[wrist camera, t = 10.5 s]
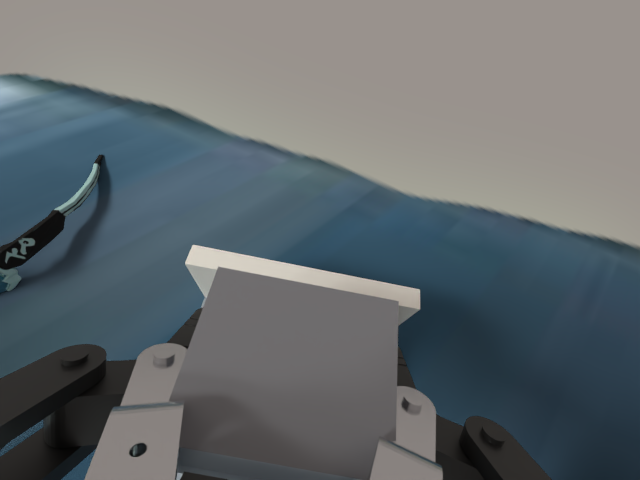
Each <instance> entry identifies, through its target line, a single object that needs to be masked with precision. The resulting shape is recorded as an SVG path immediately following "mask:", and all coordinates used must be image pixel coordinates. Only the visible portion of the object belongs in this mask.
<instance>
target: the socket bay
mask: <svg viewBox="0 0 640 480" xmlns="http://www.w3.org/2000/svg"><path fill="white" fill-rule="evenodd" d="M185 265H186V266H187V268H188V270H189V271H190V273H191V275H192V276H193V278H194V280H195V281H196V283H197V285H198V286H199V288H200V290H201V291H202V293H203V295H204V296H205V298H204V301H203V304H202V306H201V308H203V306H204V304H205V301H206V298H207V296H208V293H209V290H210V288H211V285H212V282H213V279H214V277H215V274H216V271H217V269H218V267H223V268H228V269H233V270H239V271H244V272H249V273H254V274H259V275H265V276H270V277H275V278H280V279H286V280H291V281H296V282H301V283H306V284H312V285H317V286H322V287H327V288H333V289H338V290H343V291H348V292H354V293H359V294H364V295H369V296H374V297H380V298H385V299H390V300H395V301H399V308H398V326H399V325H400V324H401V323H403V322H404V321H405V320H407V319H408V318H409V317H411V316H412V315H413V314H415V313H416V312H418V311H419V310H420V289H415V288H410V287H405V286H400V285H395V284H390V283H385V282H379V281H374V280H369V279H364V278H359V277H354V276H349V275H344V274H339V273H334V272H329V271H324V270H319V269H314V268H308V267H303V266H298V265H293V264H288V263H283V262H278V261H273V260H268V259H263V258H258V257H253V256H248V255H243V254H237V253H232V252H227V251H222V250H217V249H212V248H207V247H202V246H197V245H193V246H192V248H191V250H190V253H189V255H188V257H187V260H186V262H185ZM184 472H190V473H196V474H201V475H207V476H213V477H219V478H224V479H228V480H360V479H355V478H349V477H343V476H338V475H332V474H327V473H321V472H315V471H310V470H304V469H299V468H293V467H287V466H282V465H276V464H270V463H265V462H259V461H254V460H248V459H242V458H237V457H231V456H226V455H220V454H214V453H209V452H203V451H197V450H192V449H186V448H181V447H180V455H179V464H178V472H177V480H180V479H181V477H182V475H183V473H184Z"/></svg>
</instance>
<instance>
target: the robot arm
mask: <svg viewBox="0 0 640 480" xmlns="http://www.w3.org/2000/svg"><path fill="white" fill-rule="evenodd" d="M202 309H203V308H200V309H198V310H196V311H195V313H194V314H193V315H192V316H191V317H190V319H188V320H187V321H186V322H185V324H184V325H183V326H182V327H181V328H180V329H179V330H178V331H177V332H176V333H175V335H174V336H173V337H172V338H171V339H170V340H169V341H168V342H167V343H164V344H158V345H154V346H151V347H149V348H147V349H146V350H144V351H143V352H142V353H141V354H140V355H139V356H138V358H137V359H136V360H125V361H106V351H105V350H104V349H103V348H102V347H100V346H96V345H91V344H81V345H74V346H69V347H66V348H63V349H60V350H58V351H55V352H53V353H51V354H49V355H47V356H45V357H43V358H41V359H39V360H37V361H35V362H33V363H31V364H29V365H27V366H25V367H23V368H21V369H19V370H17V371H15V372H13V373H11V374H9V375H7V376H5V377H3V378H1V379H0V450H1V449H2V448H3V447H4V446H5V445H6V444H7V443H8V442H10V441H11V440H13V439H14V438H16V437H17V436H19V435H20V434H22V433H23V432H25V431H26V430H28V429H29V428H31V427H32V426H34V425H35V424H37V423H38V422H40V421H41V420H43V424H44V427H43V428H42V429H40V430H39V431H37V432H36V433H34V434H33V435H31V436H30V437H29V438H27V439H26V440H24V441H23V442H21V443H20V444H18V445H17V446H15V447H14V448H13V449H11V450H10V451H8V452H7V453H5V454H4V455H2V456H1V457H0V480H61V479H62V478H63V477H64V476H65V475H66V474H68V473H69V472H70V471H71V470H72V469H73V468H74V467H76V466H77V465H78V464H79V463H80V462H81V461H82V460H83V459H85V458H86V457H87V456H88V455H89V454H90V453H91V452H93V451H94V450H95V449H96V448H97V449H96V451H95V454H94V456H93V459H92V461H91V464H90V467H89V469H88V472H87V474H86V477H85V480H177V472H178V464H179V455H180V438H181V428H182V419H183V410H184V401H169V398H170V396H171V393H172V390H173V388H174V385H175V382H176V380H177V377H178V374H179V371H180V369H181V366H182V363H183V361H184V358H185V355H186V352H187V350H188V347H189V344H190V342H191V339H192V336H193V334H194V331H195V328H196V325H197V323H198V320H199V317H200V315H201V312H202ZM406 366H407V365H406V362H405V360H404V357H403V355H402V352H401V350H400V348H399V347H398V363H397V417H396V441H390V440H387V439H385V438H383V437H381V436H379V438H378V442H377V446H376V449H375V453H374V457H373V460H372V464H371V468H370V472H369V475H368V479H367V480H552V479H551V478H550V477H549V476H548V475H547V474H546V473H545V472H544V471H543V470H542V468H541V467H540V466H539V465H538V464H537V463H536V462H535V461H534V460H533V458H532V457H531V456H530V455H529V454H528V453H527V452H526V451H525V450H524V449H523V447H522V446H521V445H520V444H519V443H518V442H517V441H516V440H515V439H514V438H513V436H512V435H511V434H510V433H509V432H508V431H506V430H505V429H504V428H503V427H501V426H500V425H498V424H497V423H495V422H493V421H491V420H489V419H487V418H483V417H479V416H472V417H469V418H468V419H467V420H466V422H465V425H464V427H463V426H461V425H458V424H456V423H454V422H451V421H449V420H447V419H444V418H442V417H440V416H439V415H437V414H436V410H435V407H434V405H433V403H432V402H431V401H430V399H429V398H428V397H426V396H425V395H424V394H423V393H421V392H419V391H418V390H416V388H415V385H414V383H413V380H412V377H411V375H410V372H409V370H408V367H406ZM180 480H228V479H224V478H219V477H213V476H207V475H201V474H196V473H190V472H184V473H183V475H182V477H181V479H180Z"/></svg>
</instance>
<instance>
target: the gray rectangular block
mask: <svg viewBox="0 0 640 480" xmlns="http://www.w3.org/2000/svg"><path fill="white" fill-rule="evenodd" d="M398 308H399V301H395V300H390V299H385V298H380V297H374V296H369V295H364V294H359V293H354V292H348V291H343V290H338V289H333V288H327V287H322V286H317V285H312V284H306V283H301V282H296V281H291V280H286V279H280V278H275V277H270V276H265V275H259V274H254V273H249V272H244V271H239V270H233V269H228V268H223V267H218V269H217V271H216V274H215V277H214V279H213V282H212V285H211V288H210V290H209V293H208V296H207V298H206V301H205V304H204V306H203V309H202V312H201V315H200V317H199V320H198V323H197V325H196V328H195V331H194V334H193V336H192V339H191V342H190V344H189V347H188V350H187V352H186V355H185V358H184V361H183V363H182V366H181V369H180V371H179V374H178V377H177V380H176V382H175V385H174V388H173V390H172V393H171V396H170V398H169V401H184V410H183V419H182V428H181V438H180V447H181V448H186V449H192V450H197V451H203V452H209V453H214V454H220V455H226V456H231V457H237V458H242V459H248V460H254V461H259V462H265V463H270V464H276V465H282V466H287V467H293V468H299V469H304V470H310V471H315V472H321V473H327V474H332V475H338V476H343V477H349V478H355V479H360V480H367V479H368V475H369V472H370V468H371V464H372V460H373V457H374V453H375V449H376V446H377V442H378V438H379V436H381V437H383V438H385V439H387V440H390V441H396V417H397V363H398Z"/></svg>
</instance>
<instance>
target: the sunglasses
mask: <svg viewBox="0 0 640 480" xmlns="http://www.w3.org/2000/svg"><path fill="white" fill-rule="evenodd" d="M102 158H103V155H99V156H98V158H97V159H96V161H95V162H94V165H93V170H92V172H91V174H90V176H89V177H88V179H87V181H86V182H85V184H84V185H83V186H82V187H81V188H80V190H79V191H78V192H77V193H76V194H75V195H74V196H73V197H72V198H71V199H70V200H69V201H68V202H66V203H65V204H63V205H61V206H59V207H58V208H56V209H54V210H53V211H52V212H51V213H50V214H49V215H48V217H46V218H45V219H43V220H42V221H41V222H39V223H38V224H37V225H35V226H34V227H32V228H31V229H30V230H28V231H27V232H25V233H24V234H23V235H21V236H20V237H18V238H17V239H16V240H14V241H13V242H11V243H8V244H6V245H3V246H1V247H0V273H2V274H3V275H1V274H0V293H1V292H4V291H7V290H8V291H10V290H12V289H13V288H15V287H16V285H17V284H18V283H19V281H20V280H21V279H22V278H21V277H20V276H19V275H18V274H17V273H18V270H17V269H16V268H15V267H17V266H20V265H23V264H24V263H25V262H26V261H27V260H29V259H30V258H31V257H32V256H34V255H35V254H36V253H37V252H38V251H40V250H41V249H42V248H43V247H45V246H46V245H47V244H48V243H49V242H51V241H52V240H53V239H54V238H55V237H56V236H57V235H58V234H59V233H60V232H61V231H62V230H63V228H64V221H65V217H66V216H67V215H69V214H70V213H71V212H73V211H74V210H76V209H77V208H78V207H80V206H81V205H82V203H83V202H84V201H85V200H86V199H87V197H88V196H89V195H90V193H91V191H92V190H93V188H94V187H95V185H96V183H97V180H98V177H99V171H100V165H101V162H100V161H101V160H102Z"/></svg>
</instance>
